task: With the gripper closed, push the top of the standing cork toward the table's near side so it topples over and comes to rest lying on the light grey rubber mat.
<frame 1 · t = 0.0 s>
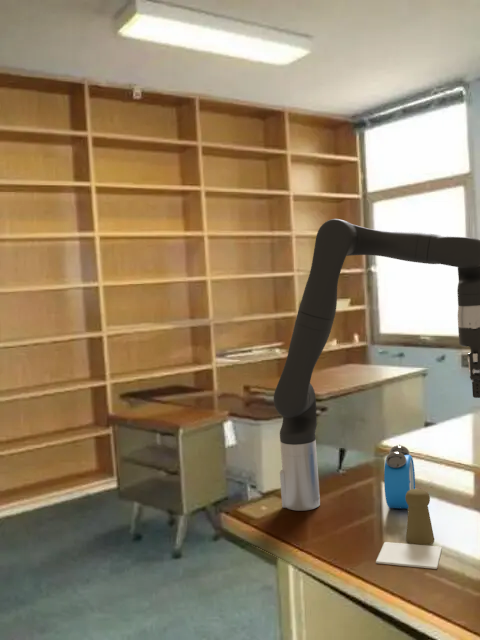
hand: (478, 393, 152), 29 cm above the table, tool pointing down, fingers open, 8 cm apart
cork: (420, 540, 143), on the table
mat: (409, 555, 136), on the table
alarm clock: (401, 508, 164), on the table
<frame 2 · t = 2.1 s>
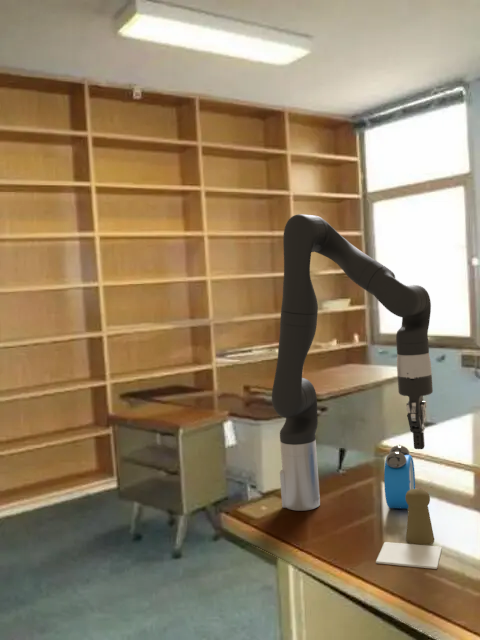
hand: (419, 448, 149), 18 cm above the table, tool pointing down, fingers closed
nothing on the table moved.
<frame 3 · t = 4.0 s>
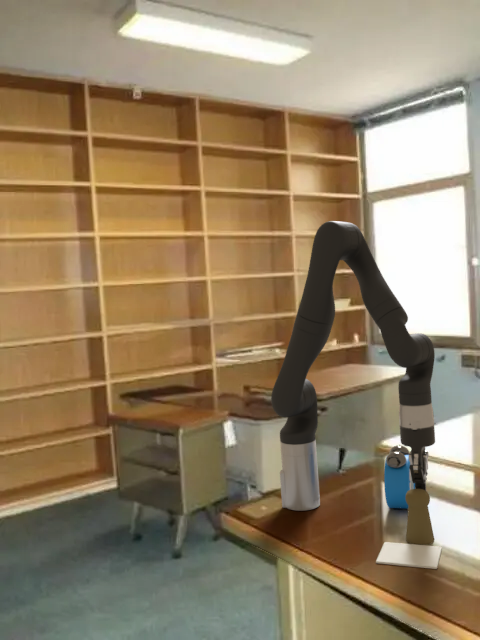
hand: (421, 498, 147), 8 cm above the table, tool pointing down, fingers closed
cork: (420, 540, 143), on the table, touching gripper
everything else where it was.
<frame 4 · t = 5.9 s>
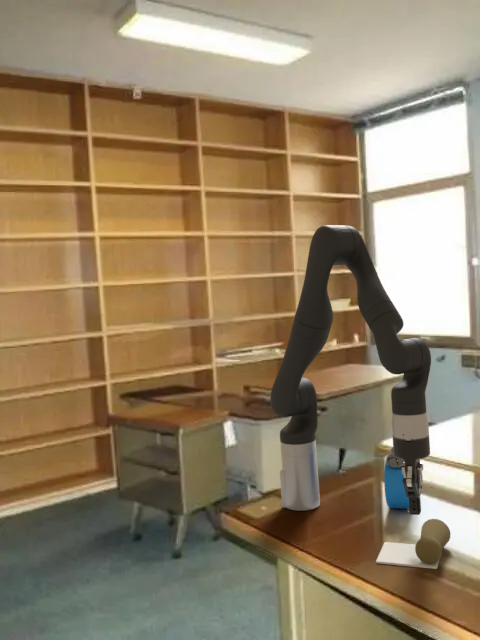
hand: (415, 513, 139), 8 cm above the table, tool pointing down, fingers closed
cork: (435, 532, 139), point 3 cm above the table, touching mat
everything else where it was.
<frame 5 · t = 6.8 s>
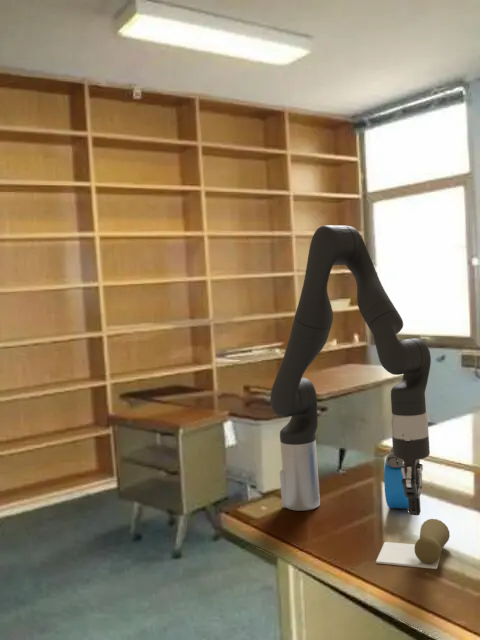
hand: (415, 513, 138), 8 cm above the table, tool pointing down, fingers closed
nothing on the table moved.
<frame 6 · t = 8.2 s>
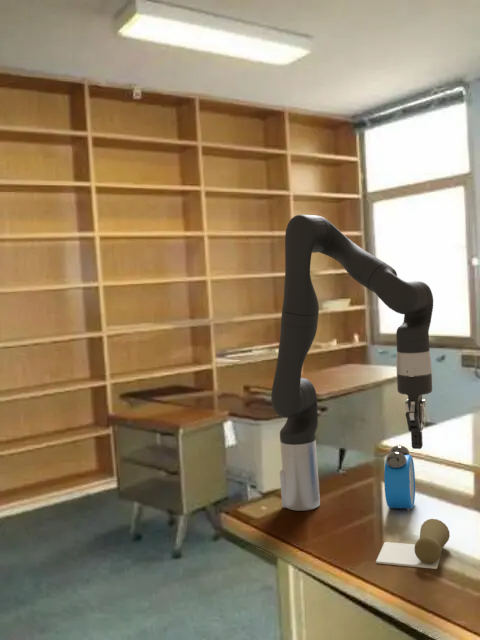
hand: (417, 447, 146), 19 cm above the table, tool pointing down, fingers closed
nothing on the table moved.
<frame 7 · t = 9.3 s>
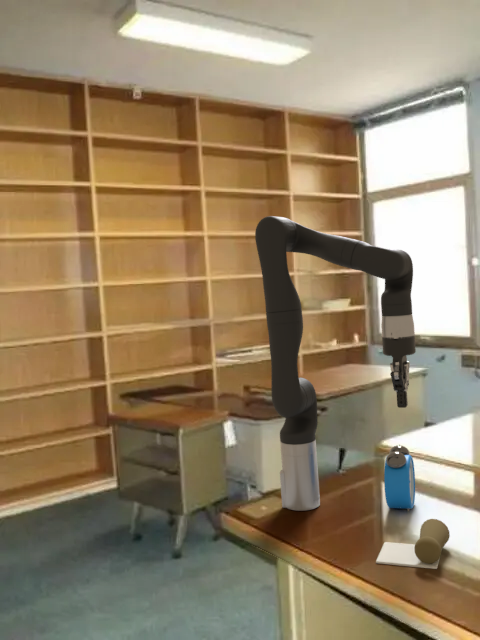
hand: (402, 406, 154), 27 cm above the table, tool pointing down, fingers closed
nothing on the table moved.
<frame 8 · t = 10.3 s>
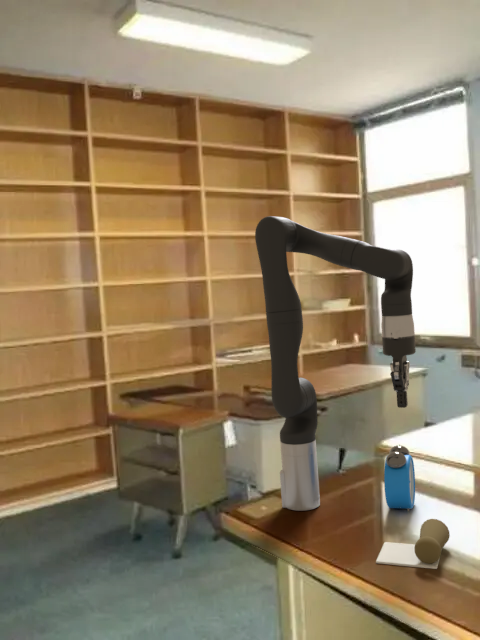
hand: (402, 406, 154), 27 cm above the table, tool pointing down, fingers closed
nothing on the table moved.
at the end: cork tilted 90°; cork inside the target area (6.2 cm from its centre), point 3.0 cm above the table; the gripper is holding nothing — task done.
